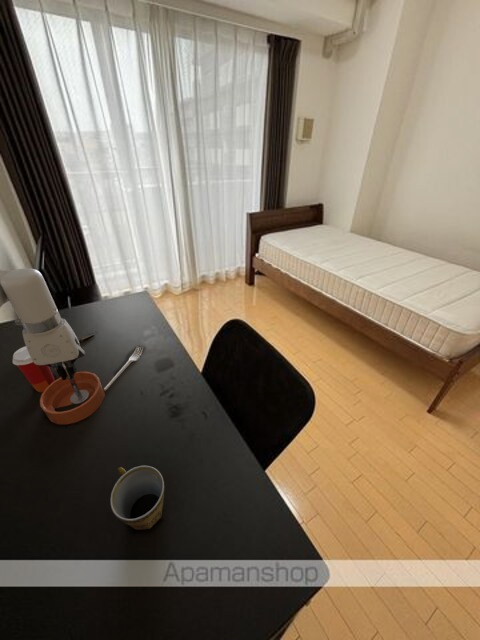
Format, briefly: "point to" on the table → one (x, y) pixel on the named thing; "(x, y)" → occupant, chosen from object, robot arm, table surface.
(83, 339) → the fountain pen
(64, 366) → the grey disc on stem
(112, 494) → the ceramic cup
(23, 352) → the paper cup
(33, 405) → the table surface
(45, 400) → the bowl
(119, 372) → the fork
